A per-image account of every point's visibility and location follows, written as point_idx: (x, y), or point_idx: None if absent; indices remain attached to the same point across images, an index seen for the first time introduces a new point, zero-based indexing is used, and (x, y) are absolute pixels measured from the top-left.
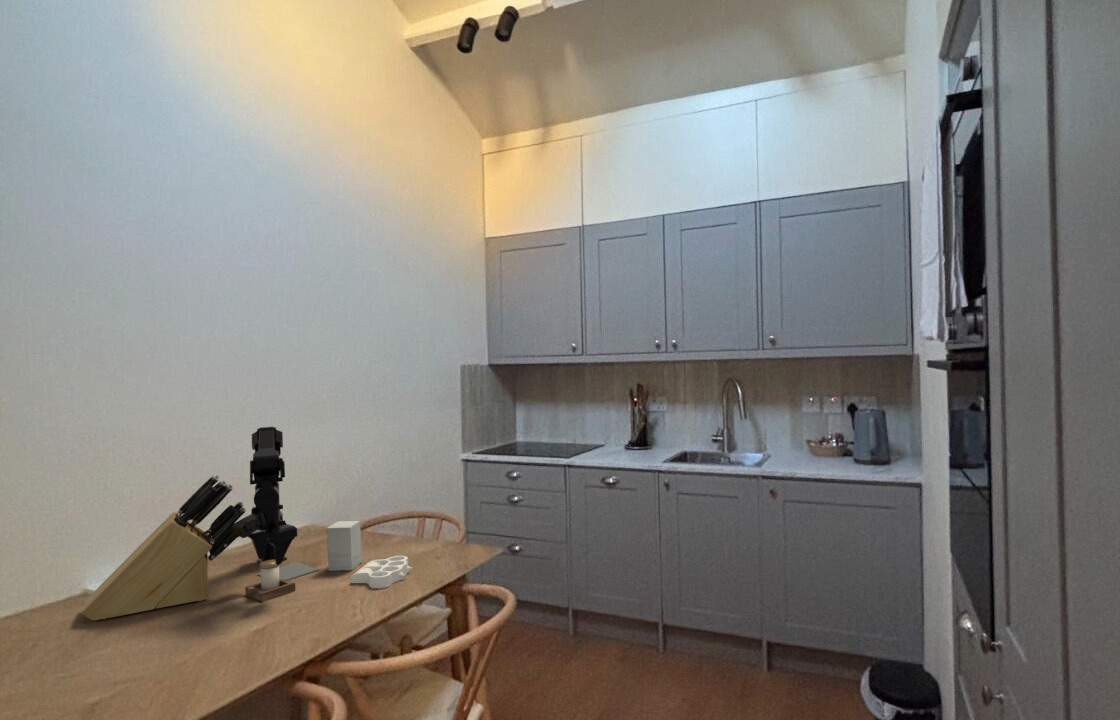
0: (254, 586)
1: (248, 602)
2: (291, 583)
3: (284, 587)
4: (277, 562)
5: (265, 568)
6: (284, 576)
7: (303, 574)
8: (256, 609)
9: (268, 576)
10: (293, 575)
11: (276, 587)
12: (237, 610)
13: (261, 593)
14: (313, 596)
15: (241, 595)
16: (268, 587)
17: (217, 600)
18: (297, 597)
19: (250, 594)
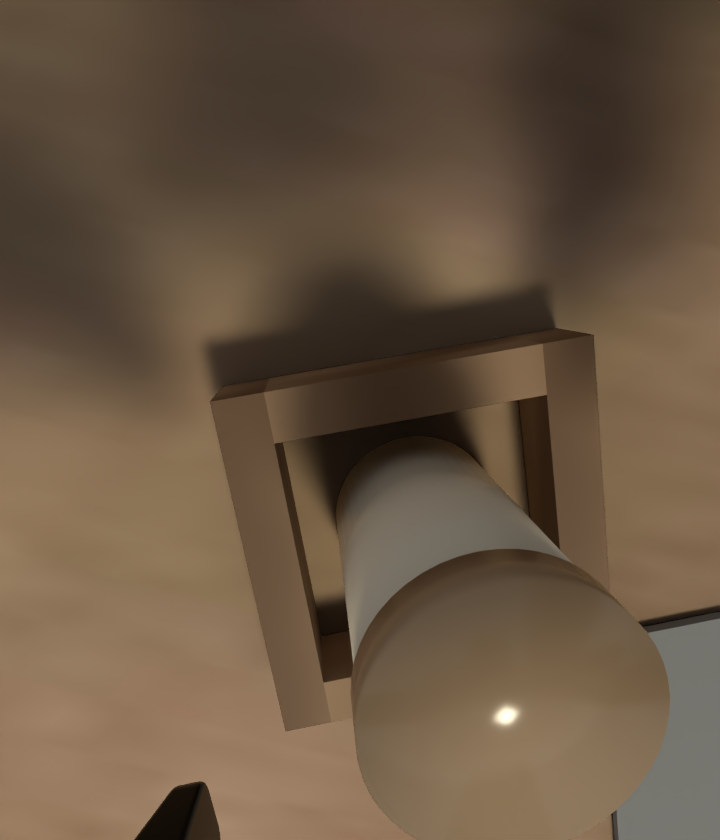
0: (544, 417)
1: (313, 282)
2: (301, 703)
3: (263, 626)
4: (148, 835)
5: (393, 601)
6: (703, 711)
7: (616, 829)
8: (42, 277)
9: (362, 568)
10: (660, 768)
11: (298, 567)
12: (159, 123)
13: (224, 398)
14: (13, 744)
15: (571, 293)
16: (354, 507)
17: (633, 64)
18: (93, 644)
19: (462, 348)
